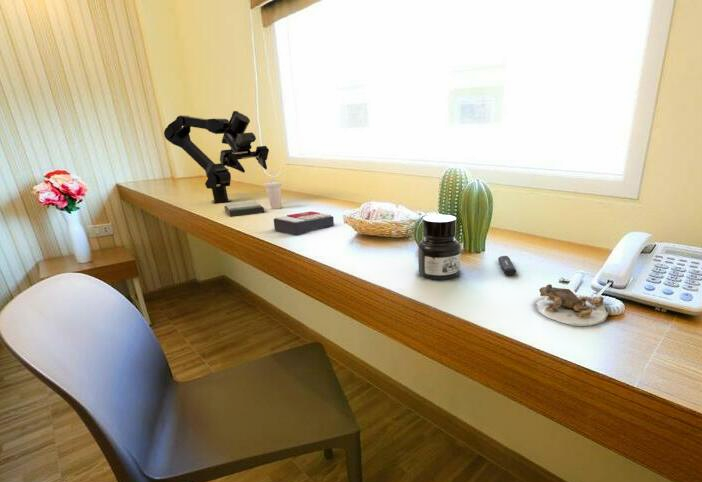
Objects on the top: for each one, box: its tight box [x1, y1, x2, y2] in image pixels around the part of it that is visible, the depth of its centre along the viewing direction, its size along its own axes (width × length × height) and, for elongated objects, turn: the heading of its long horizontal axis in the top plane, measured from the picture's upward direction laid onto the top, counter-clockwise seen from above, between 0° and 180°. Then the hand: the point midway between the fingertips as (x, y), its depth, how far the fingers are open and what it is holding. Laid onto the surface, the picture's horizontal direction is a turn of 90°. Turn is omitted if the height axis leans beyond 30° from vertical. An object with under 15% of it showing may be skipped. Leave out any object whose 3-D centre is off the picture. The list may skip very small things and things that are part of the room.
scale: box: [223, 200, 265, 217], centre depth 149 cm, size 12×12×3 cm
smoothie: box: [263, 171, 282, 210], centre depth 153 cm, size 6×6×14 cm
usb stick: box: [498, 255, 517, 276], centre depth 86 cm, size 10×3×2 cm, turn 176°
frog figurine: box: [535, 284, 609, 327], centre depth 66 cm, size 12×12×4 cm
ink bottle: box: [417, 214, 462, 281], centre depth 82 cm, size 10×9×12 cm
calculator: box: [273, 211, 335, 236], centre depth 123 cm, size 11×4×15 cm
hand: (255, 170), depth 153 cm, fingers open, 9 cm apart
